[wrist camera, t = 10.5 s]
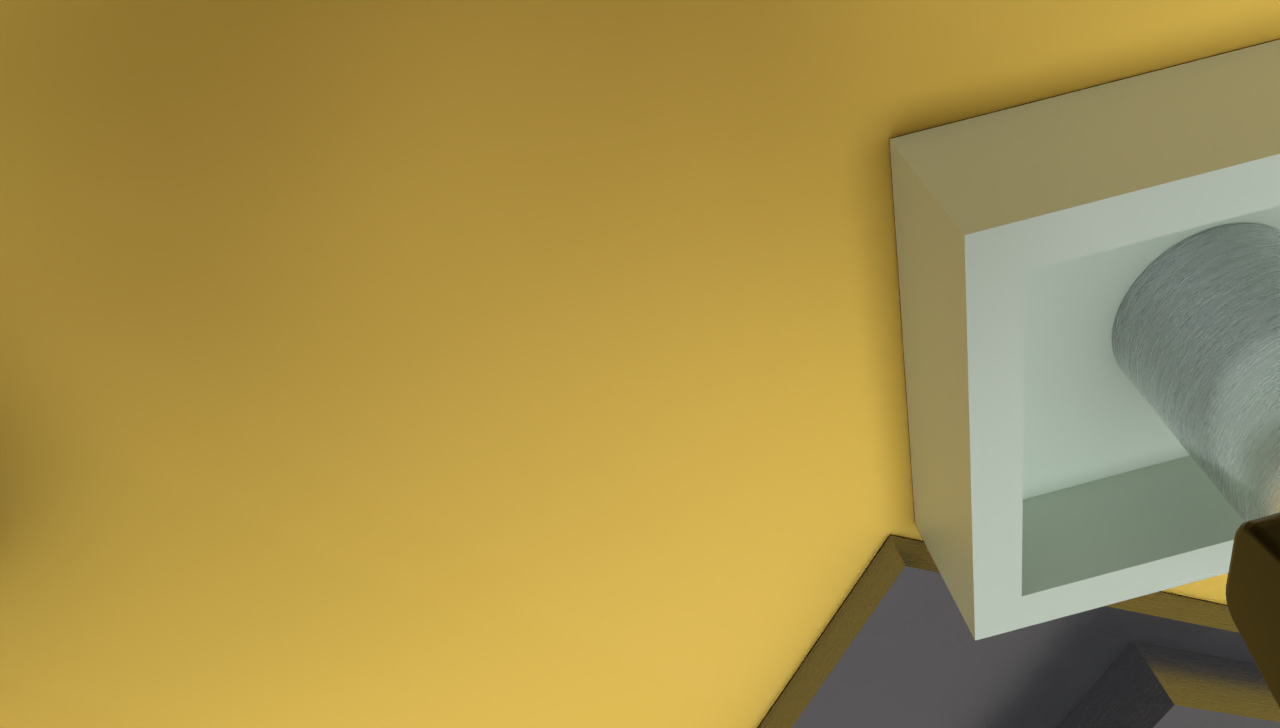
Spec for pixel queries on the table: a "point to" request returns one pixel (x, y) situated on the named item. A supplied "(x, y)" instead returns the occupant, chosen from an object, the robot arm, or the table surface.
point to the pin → (1213, 356)
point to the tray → (1066, 332)
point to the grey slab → (1020, 663)
